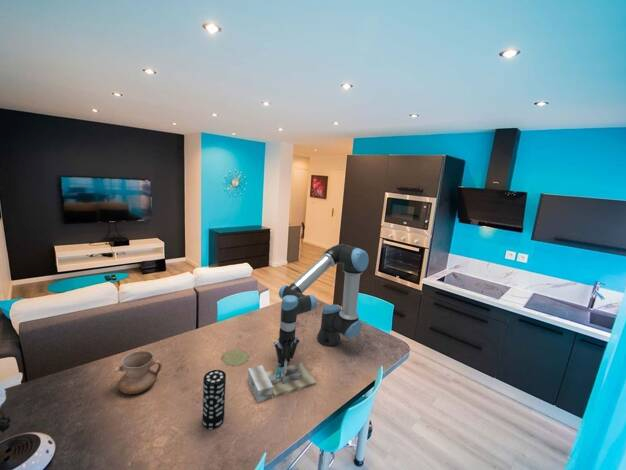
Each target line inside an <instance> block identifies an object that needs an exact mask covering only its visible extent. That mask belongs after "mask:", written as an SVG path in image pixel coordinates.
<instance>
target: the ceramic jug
mask: <svg viewBox="0 0 626 470" xmlns="http://www.w3.org/2000/svg"><path fill="white" fill-rule="evenodd" d="M120 364H121V365H120V366H119V365H118V366H117V367H115V368H114V372H122V373H124V374H122V376H121V377H120V378H119V381H117V382H116V385H117V387H118V390H119V391H120V392H121V393H123V394H126V395H136V394H139V393H142V392H144V391H146V390H148V389H149V388H151V387H152V386H153V385H154V383H155V382H156V381H157V377H158V374H159V373H160V371H161V369H162V368H163V367H162V366H163V363H162V361H161V360H159V359H156V360H154V354H153V352H152V351H150V350H135V351H133V352H130V353H129V354H126V355H124V357H123V358H122V359H121V363H120ZM156 364H157V365H158V368H157V369H156V371H154V369H152V367H153V366H154V365H156Z"/></svg>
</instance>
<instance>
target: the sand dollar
mask: <svg viewBox="0 0 626 470" xmlns="http://www.w3.org/2000/svg"><path fill="white" fill-rule="evenodd" d="M250 358H251V357H250V354H249V353H248V352H247V351H245V350H241V349H230V350H228V351H226V352H224V353H223V354H222V355H221V358H220V361H221V362H222V363H223V364H225V366H226V367H228V366H231V367H240V366H242V365H244V364H246V363H247V362H249V361H248V360H249V359H250Z"/></svg>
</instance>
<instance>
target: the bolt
mask: <svg viewBox="0 0 626 470" xmlns="http://www.w3.org/2000/svg"><path fill="white" fill-rule="evenodd" d="M276 369H277V370H276ZM276 369H275V370H276V375H273V376H269V377H268V378H269V379H270V381H271V383H272V384H274V383H277V382H281V381H282V378H284V377H285V375H284V374H283V373H281V370H282V366H281V364H279V365H278V364H277V365H276Z"/></svg>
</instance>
